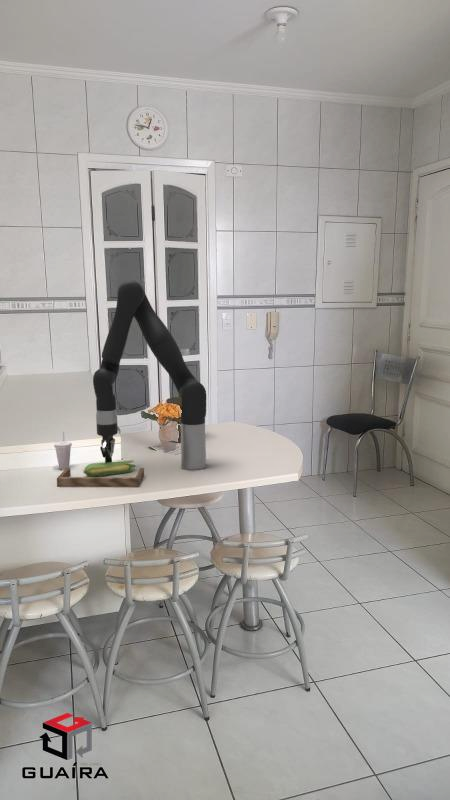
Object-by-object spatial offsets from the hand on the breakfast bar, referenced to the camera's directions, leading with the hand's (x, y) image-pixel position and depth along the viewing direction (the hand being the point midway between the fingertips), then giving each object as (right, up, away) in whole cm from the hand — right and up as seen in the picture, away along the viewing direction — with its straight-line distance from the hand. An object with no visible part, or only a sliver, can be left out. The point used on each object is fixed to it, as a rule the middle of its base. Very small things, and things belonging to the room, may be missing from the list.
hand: (108, 466), depth 208 cm
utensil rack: (0, -4, -12) cm, 12 cm away
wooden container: (+24, +7, +46) cm, 53 cm away
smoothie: (-18, -1, +4) cm, 18 cm away
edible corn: (+2, -3, -3) cm, 5 cm away
